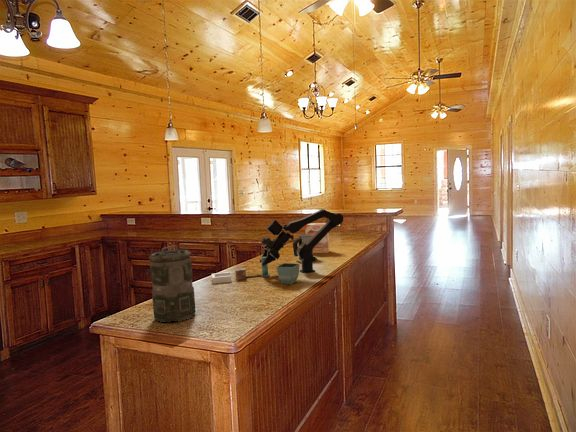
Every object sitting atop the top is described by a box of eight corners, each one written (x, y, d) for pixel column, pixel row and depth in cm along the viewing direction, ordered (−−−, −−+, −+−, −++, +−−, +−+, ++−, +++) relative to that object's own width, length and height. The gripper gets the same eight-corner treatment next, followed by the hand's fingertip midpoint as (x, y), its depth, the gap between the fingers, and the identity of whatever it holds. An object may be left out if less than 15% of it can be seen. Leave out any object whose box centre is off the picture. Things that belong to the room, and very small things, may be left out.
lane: (230, 277, 229) (229, 271, 229) (231, 281, 219) (231, 275, 219) (212, 279, 227) (211, 273, 227) (212, 283, 217) (212, 277, 217)
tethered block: (268, 274, 231) (267, 256, 230) (270, 276, 226) (269, 257, 225) (235, 278, 227) (234, 259, 226) (236, 280, 222) (235, 261, 221)
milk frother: (304, 256, 275) (303, 233, 274) (325, 258, 266) (324, 234, 265) (291, 260, 264) (290, 237, 263) (312, 262, 255) (311, 238, 253)
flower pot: (300, 281, 211) (299, 263, 211) (293, 285, 203) (292, 267, 203) (284, 280, 215) (283, 263, 214) (277, 285, 207) (276, 266, 206)
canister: (174, 326, 156) (167, 250, 154) (145, 320, 165) (138, 249, 162) (204, 313, 170) (198, 243, 167) (176, 308, 178) (170, 242, 175)
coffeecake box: (306, 253, 285) (304, 224, 284) (307, 251, 292) (306, 223, 291) (328, 252, 283) (327, 223, 281) (329, 251, 290) (328, 222, 288)
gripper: (266, 229, 235) (248, 251, 234) (272, 233, 217) (252, 257, 216) (281, 242, 237) (263, 263, 236) (288, 247, 219) (268, 270, 218)
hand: (261, 263), depth 227 cm, fingers open, 9 cm apart
